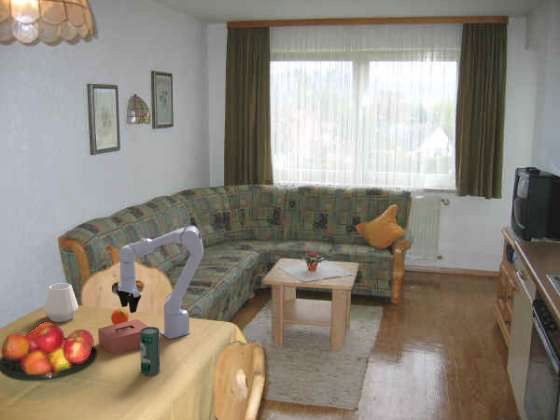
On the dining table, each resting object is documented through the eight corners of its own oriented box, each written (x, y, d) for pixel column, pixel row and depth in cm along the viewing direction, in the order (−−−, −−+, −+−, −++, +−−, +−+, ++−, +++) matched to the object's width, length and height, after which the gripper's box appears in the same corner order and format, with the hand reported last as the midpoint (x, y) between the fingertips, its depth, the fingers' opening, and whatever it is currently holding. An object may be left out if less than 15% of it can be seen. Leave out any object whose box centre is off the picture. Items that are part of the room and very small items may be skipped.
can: (139, 369, 195) (139, 328, 192) (157, 366, 197) (156, 325, 194) (143, 377, 189) (142, 335, 186) (161, 374, 192) (160, 332, 189)
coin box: (137, 333, 224) (137, 319, 223) (152, 343, 215) (151, 328, 214) (98, 343, 214) (98, 328, 213) (112, 354, 205) (111, 339, 204)
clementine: (134, 325, 232) (133, 309, 231) (121, 330, 226) (120, 314, 225) (120, 321, 236) (120, 304, 235) (107, 326, 231) (107, 309, 229)
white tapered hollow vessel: (71, 324, 232) (70, 291, 229) (39, 323, 232) (37, 290, 229) (83, 312, 245) (81, 281, 242) (52, 311, 245) (50, 280, 242)
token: (130, 339, 217) (130, 327, 216) (132, 341, 215) (132, 329, 214) (117, 342, 214) (117, 330, 213) (119, 344, 212) (119, 332, 211)
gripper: (110, 273, 221) (111, 306, 224) (126, 282, 211) (127, 317, 213) (127, 270, 226) (127, 302, 229) (143, 279, 215) (144, 313, 218)
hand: (128, 309), depth 221 cm, fingers open, 7 cm apart
